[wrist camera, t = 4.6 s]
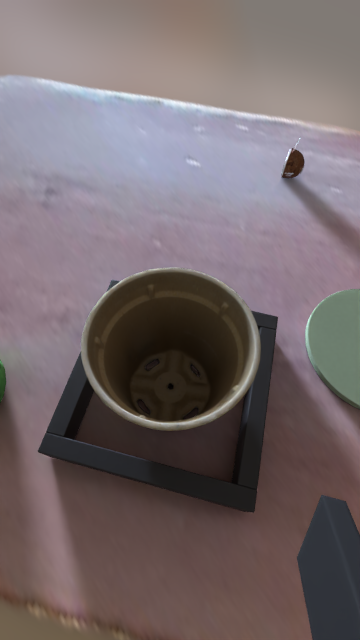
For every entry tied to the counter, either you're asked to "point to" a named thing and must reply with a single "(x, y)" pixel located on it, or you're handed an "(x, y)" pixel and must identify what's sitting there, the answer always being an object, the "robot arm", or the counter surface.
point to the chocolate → (293, 163)
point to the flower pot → (170, 348)
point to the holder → (232, 495)
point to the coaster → (337, 344)
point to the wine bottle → (2, 381)
